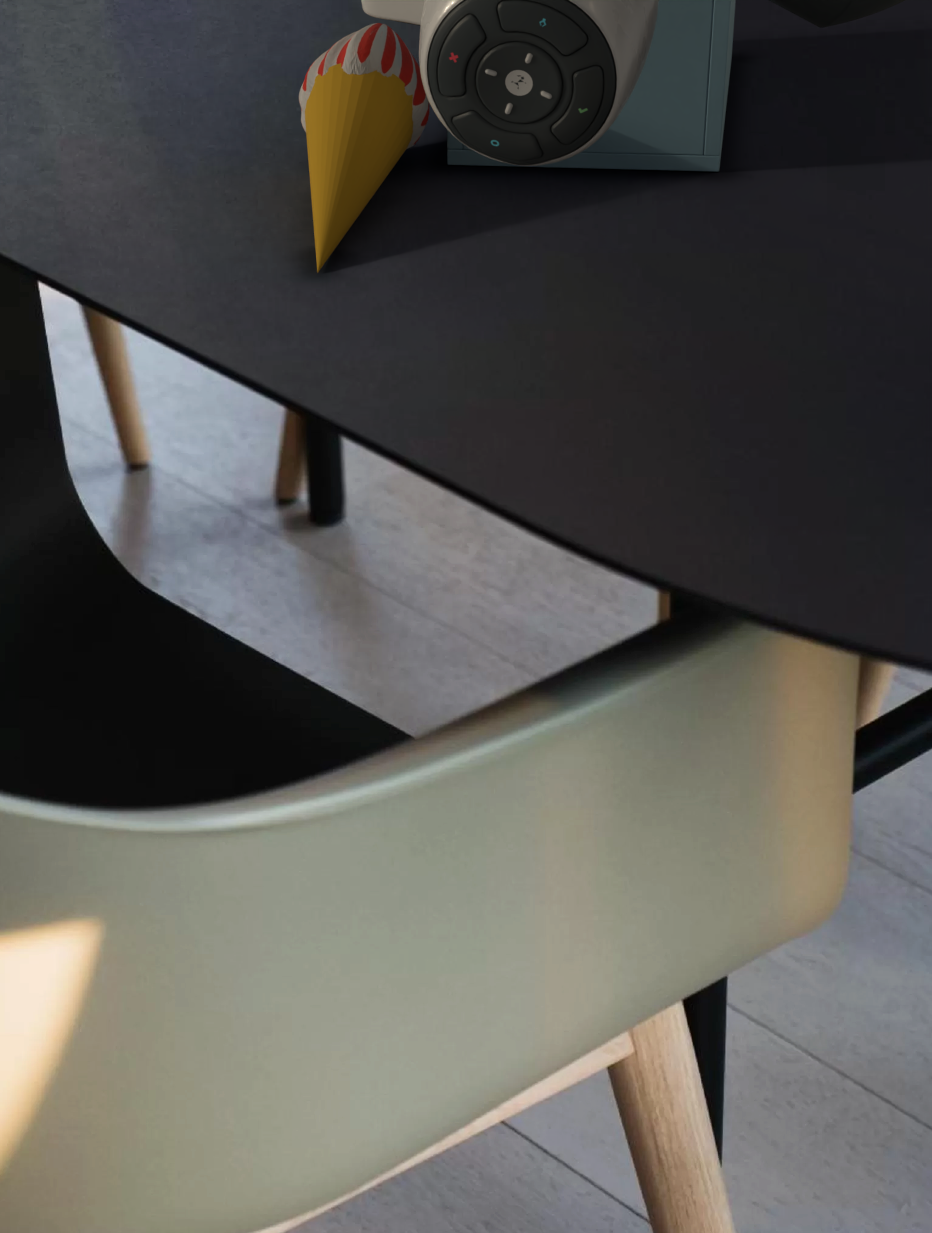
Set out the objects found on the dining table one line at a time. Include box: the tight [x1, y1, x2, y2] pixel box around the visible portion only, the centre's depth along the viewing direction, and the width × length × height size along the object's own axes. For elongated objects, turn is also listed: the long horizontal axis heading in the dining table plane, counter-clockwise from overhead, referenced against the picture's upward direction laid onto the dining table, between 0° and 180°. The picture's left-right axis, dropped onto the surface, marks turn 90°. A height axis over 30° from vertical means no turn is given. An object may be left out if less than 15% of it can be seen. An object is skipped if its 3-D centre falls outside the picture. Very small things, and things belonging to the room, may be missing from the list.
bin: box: [446, 0, 737, 173], centre depth 113 cm, size 14×16×9 cm
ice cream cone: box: [298, 22, 431, 274], centre depth 108 cm, size 6×6×20 cm
